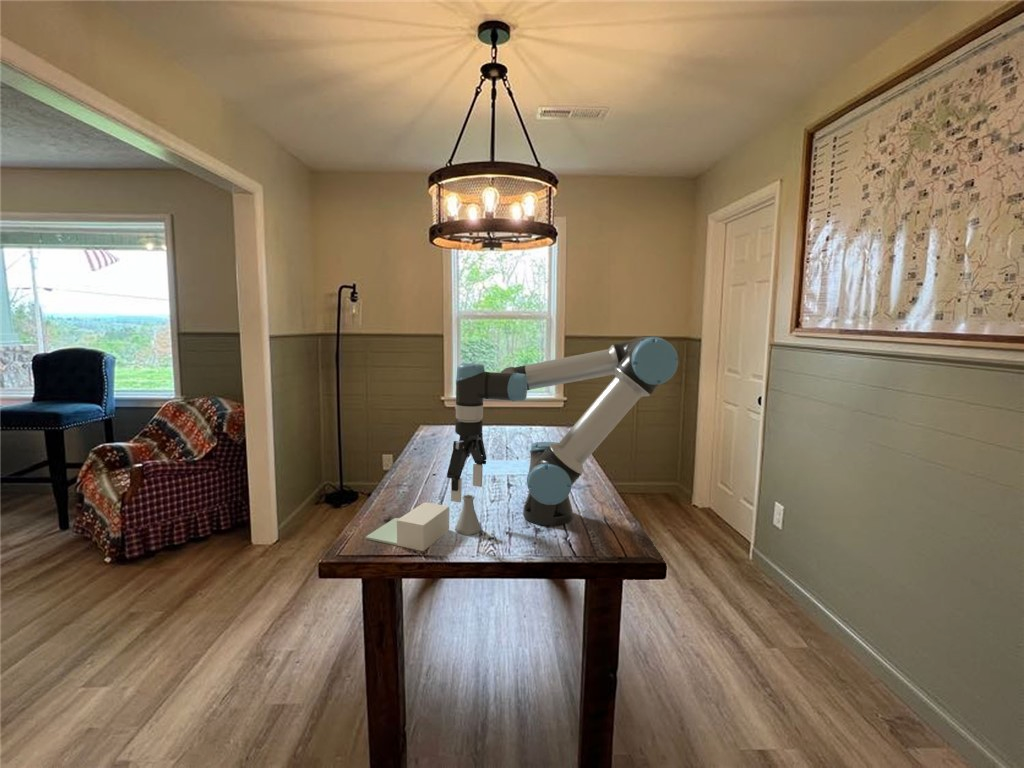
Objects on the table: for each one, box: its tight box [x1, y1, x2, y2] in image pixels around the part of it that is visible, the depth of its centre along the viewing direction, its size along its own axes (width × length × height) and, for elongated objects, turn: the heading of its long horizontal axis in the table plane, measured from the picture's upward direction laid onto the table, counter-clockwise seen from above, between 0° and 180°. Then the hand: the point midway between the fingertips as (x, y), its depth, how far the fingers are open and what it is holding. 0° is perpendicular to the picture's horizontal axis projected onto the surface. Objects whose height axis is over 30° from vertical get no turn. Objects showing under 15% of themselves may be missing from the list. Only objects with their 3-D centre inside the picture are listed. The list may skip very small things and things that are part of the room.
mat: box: [365, 517, 400, 546], centre depth 135 cm, size 10×14×1 cm
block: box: [396, 501, 450, 552], centre depth 132 cm, size 8×14×7 cm, turn 159°
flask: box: [454, 494, 482, 536], centre depth 137 cm, size 7×7×10 cm
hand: (467, 493), depth 136 cm, fingers open, 13 cm apart
